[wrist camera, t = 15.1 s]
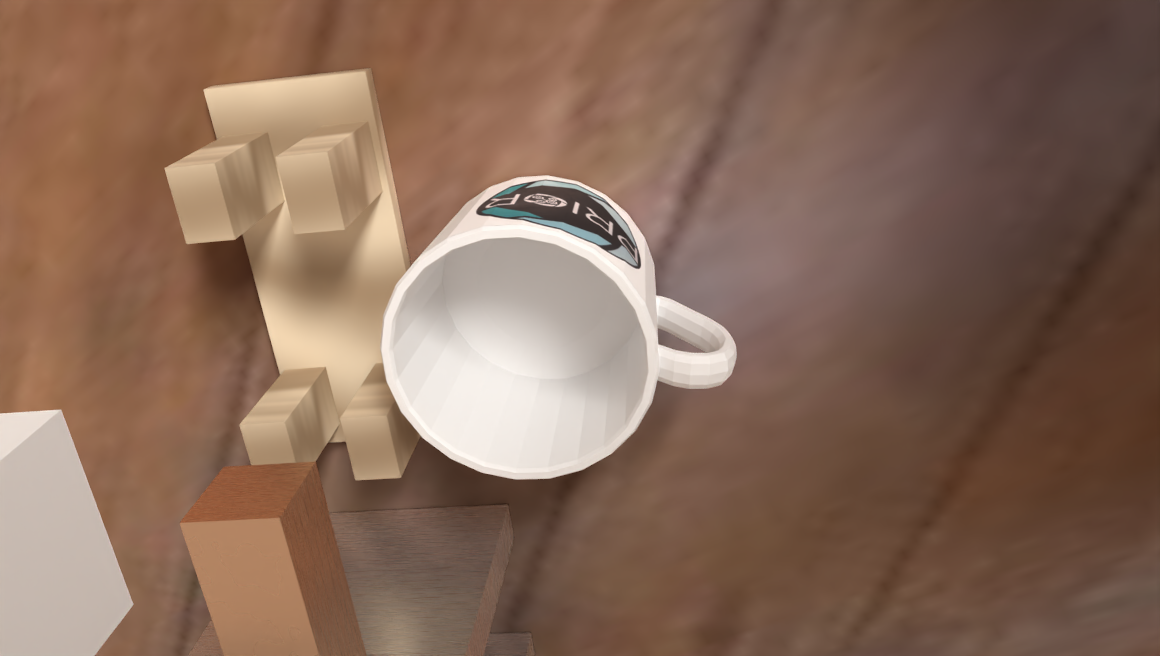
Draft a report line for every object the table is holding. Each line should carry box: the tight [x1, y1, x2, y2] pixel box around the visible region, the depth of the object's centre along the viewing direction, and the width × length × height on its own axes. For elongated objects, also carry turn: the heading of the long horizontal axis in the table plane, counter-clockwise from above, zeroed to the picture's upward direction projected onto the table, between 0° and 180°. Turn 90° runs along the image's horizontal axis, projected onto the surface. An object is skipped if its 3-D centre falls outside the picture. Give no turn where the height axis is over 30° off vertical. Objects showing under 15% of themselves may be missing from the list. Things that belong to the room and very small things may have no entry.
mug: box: [380, 175, 737, 479], centre depth 41 cm, size 13×10×8 cm
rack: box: [164, 68, 422, 480], centre depth 42 cm, size 17×7×6 cm, turn 7°
